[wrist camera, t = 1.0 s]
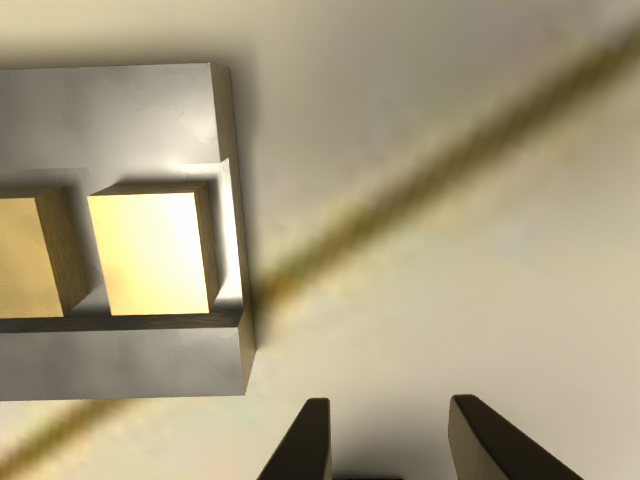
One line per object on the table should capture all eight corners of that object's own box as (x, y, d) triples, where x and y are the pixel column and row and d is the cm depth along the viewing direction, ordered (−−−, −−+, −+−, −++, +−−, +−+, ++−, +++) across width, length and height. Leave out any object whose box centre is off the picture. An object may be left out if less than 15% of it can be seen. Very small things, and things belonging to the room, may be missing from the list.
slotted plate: (255, 351, 23) (244, 395, 20) (-6, 358, 23) (-61, 402, 20) (229, 68, 18) (209, 62, 15) (-95, 79, 19) (-185, 76, 15)
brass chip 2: (219, 291, 20) (208, 312, 18) (131, 293, 20) (111, 315, 18) (206, 182, 18) (193, 193, 16) (111, 185, 18) (86, 196, 16)
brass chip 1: (88, 295, 20) (63, 316, 18) (1, 297, 20) (-33, 319, 18) (63, 186, 18) (34, 197, 16) (-31, 189, 18) (-72, 201, 16)
